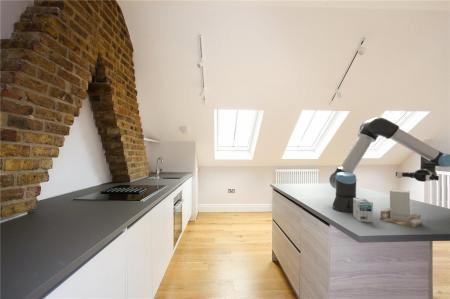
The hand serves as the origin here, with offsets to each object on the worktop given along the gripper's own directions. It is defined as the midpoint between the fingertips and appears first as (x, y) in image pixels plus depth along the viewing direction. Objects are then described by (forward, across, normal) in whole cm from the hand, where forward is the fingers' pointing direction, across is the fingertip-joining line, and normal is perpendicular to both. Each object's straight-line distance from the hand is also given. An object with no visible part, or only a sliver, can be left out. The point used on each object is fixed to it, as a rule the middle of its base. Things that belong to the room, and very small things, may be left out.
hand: (411, 176), depth 133 cm
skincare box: (+15, 0, -23) cm, 27 cm away
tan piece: (+15, 0, -24) cm, 28 cm away
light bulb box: (+28, +14, -24) cm, 40 cm away
